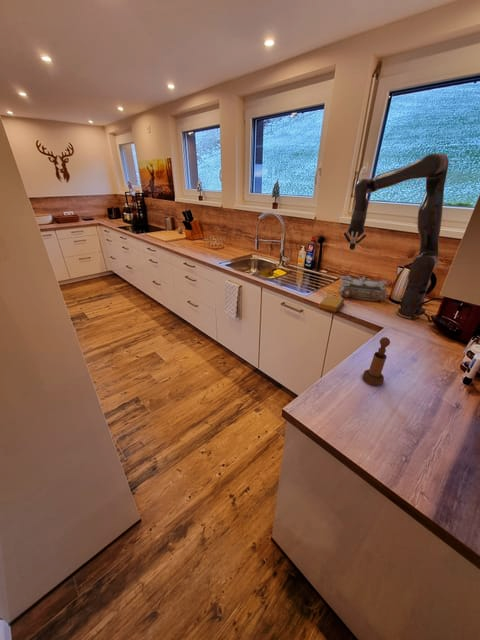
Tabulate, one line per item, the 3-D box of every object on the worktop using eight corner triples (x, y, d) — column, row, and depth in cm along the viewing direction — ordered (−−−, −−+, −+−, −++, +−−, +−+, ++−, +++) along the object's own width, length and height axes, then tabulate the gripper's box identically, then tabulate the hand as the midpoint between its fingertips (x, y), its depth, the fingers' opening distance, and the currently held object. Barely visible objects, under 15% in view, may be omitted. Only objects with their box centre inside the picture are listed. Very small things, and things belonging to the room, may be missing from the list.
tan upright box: (344, 298, 152) (338, 307, 141) (343, 303, 153) (337, 312, 143) (326, 294, 157) (319, 303, 146) (325, 299, 158) (318, 308, 148)
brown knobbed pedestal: (365, 385, 93) (378, 342, 84) (360, 373, 99) (372, 332, 90) (384, 387, 92) (400, 344, 83) (379, 375, 98) (393, 334, 89)
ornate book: (337, 299, 160) (392, 304, 152) (340, 284, 156) (396, 289, 148) (337, 286, 179) (385, 290, 171) (339, 273, 175) (389, 276, 166)
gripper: (344, 218, 149) (338, 249, 157) (369, 220, 142) (362, 252, 151) (347, 217, 154) (342, 246, 162) (372, 219, 148) (364, 250, 156)
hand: (351, 249), depth 157 cm, fingers closed
